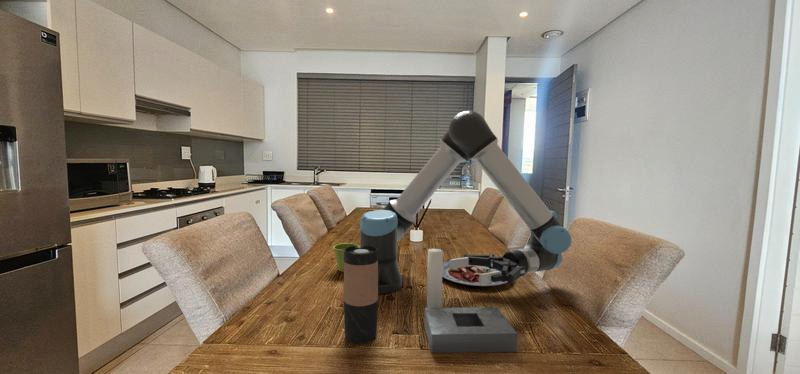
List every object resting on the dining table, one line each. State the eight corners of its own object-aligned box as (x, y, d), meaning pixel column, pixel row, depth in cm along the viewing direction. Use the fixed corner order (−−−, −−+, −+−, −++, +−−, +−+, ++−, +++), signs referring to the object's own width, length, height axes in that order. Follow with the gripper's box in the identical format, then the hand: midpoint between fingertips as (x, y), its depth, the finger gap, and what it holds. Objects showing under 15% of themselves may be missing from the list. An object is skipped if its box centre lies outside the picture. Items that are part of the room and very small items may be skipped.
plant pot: (349, 263, 122) (349, 241, 122) (364, 269, 116) (364, 246, 115) (328, 269, 116) (328, 246, 115) (343, 276, 109) (343, 251, 108)
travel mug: (363, 349, 67) (363, 256, 65) (336, 338, 71) (336, 250, 69) (384, 332, 73) (385, 248, 72) (358, 323, 77) (358, 243, 76)
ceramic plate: (455, 295, 95) (456, 285, 95) (426, 267, 120) (426, 260, 119) (528, 287, 102) (529, 278, 102) (486, 263, 127) (486, 255, 126)
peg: (424, 309, 85) (425, 251, 84) (430, 304, 88) (431, 247, 87) (438, 313, 83) (439, 253, 82) (443, 307, 86) (445, 250, 85)
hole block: (431, 352, 66) (431, 334, 65) (424, 323, 78) (424, 307, 77) (516, 351, 66) (517, 333, 66) (496, 322, 78) (497, 307, 78)
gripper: (554, 288, 87) (494, 302, 78) (491, 262, 110) (439, 270, 101) (555, 261, 87) (495, 272, 77) (492, 241, 109) (440, 247, 100)
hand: (464, 271), depth 89 cm, fingers open, 13 cm apart
